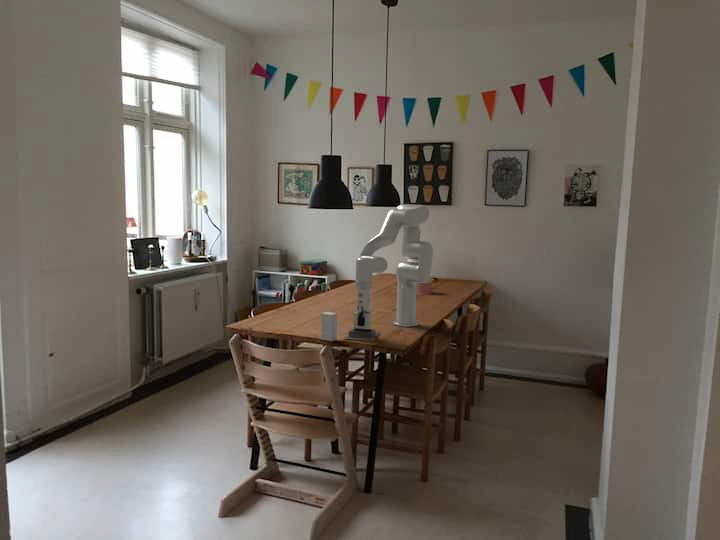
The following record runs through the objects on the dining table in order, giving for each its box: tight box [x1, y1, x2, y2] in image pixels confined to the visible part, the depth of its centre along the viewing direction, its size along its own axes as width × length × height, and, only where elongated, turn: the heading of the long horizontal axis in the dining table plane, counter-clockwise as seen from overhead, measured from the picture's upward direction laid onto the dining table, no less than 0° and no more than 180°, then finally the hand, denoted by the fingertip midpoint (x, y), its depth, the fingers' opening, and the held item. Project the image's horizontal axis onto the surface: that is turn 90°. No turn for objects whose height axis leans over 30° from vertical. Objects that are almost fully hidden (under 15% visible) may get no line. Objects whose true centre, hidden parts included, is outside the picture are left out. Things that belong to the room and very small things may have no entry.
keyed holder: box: [343, 326, 381, 343], centre depth 261 cm, size 16×13×3 cm
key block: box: [353, 310, 372, 329], centre depth 260 cm, size 7×4×7 cm, turn 77°
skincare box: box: [320, 311, 338, 342], centre depth 253 cm, size 6×4×12 cm
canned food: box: [414, 274, 433, 295], centre depth 381 cm, size 11×11×12 cm
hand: (362, 324), depth 260 cm, fingers closed on key block, 4 cm apart
